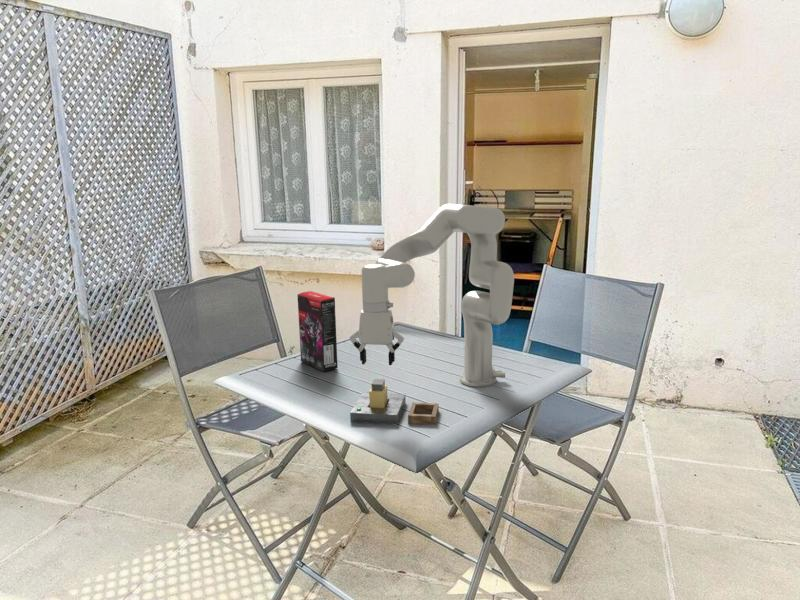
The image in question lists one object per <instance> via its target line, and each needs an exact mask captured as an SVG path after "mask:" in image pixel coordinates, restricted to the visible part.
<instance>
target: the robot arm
mask: <svg viewBox="0 0 800 600" xmlns="http://www.w3.org/2000/svg"><path fill="white" fill-rule="evenodd" d="M505 223H506V217H505V214H504V212H503V211H502V210H501V209H500V208H498V207H495V206H494V207H492V206H480V205H472V204H471V205H470V204H462V203H445V204H443V205H442V206H440V207H439V208H437V209H436V211H435V212H434V213H432V215H431V216H430V217H429V218H428V219H427V220H426V221H425V222H424V223H423V224H422V225H421V227H419V228H418V230H416V231H415V232H414V233H411V234H410V235H408V236H406V237H404V238H403V239H401V240H399V241H397V242H396V243H394V244H392V245H391V246H390V247H389V248H387V249H386V250H385V251H384V252H383V253H382V254H381V255H380V256H379V258H377V260H376V261H375V263H370V264H366V265H364V266H363V267H362V268H361V291H362V292H361V293H362V309H361V311H360V314H359V316H360V317H359V325H358V330H357V331H356V332H354V333H353V334H352V335H350V336H349V341H350V342H351V343H352V344H353V346H354V347H355V348H356V349H357V350H358V352H359V359H360V360H359V361H360V362H361V364H362V365H365V364H366V363H367V349H366V348H365V347H366V345H381V346H382V345H383V346H386V347H387V348H388V351H389V352H388V365H389V366H392V365H393V363H394V362H395V359H396V358H395V351H396V350H398V348H399V347H400V346H401V345H402V344H403V342H404V341H405V337H404V336H403V335H401V334H400V333H399V332H397V331H396V330H395V325H394V324H395V323H394V317H393V313H392V312H393V311H392V310H391V309H390V308H394V302H390V300H389V289H391V288H392V289H393V288H395V289H397V288H407V287H408V286H410V285H411V284H412V283H413V282H414V280H415V278H416V277H415V276H416V275H415V274H416V272H415V269H414V268H413V267H412V265H410V264H409V263H408V262H409V261H411V260H413V259H416V258H420V257H425V256H428V255H431V254H434V253H435V252H437V251H438V250H439V249H440V247H442V245H444V244H445V242H446V241H447V240H448V239H449V238H450V237H451V236H452V235H453V234H454V233H456V232H457V233H466V234H467V236H468V238H469V240H470V246H471V247H470V259H469V268H468V270H469V271H468V279H469V282H470V283H471V284H472V285H473V286H475V287H477V288H482V289H487V290H489V292H486V291H481V290H470V291H468V292H467V293H465V295H464V296H463V297H462V299H461V300H462V301H461V303H460V304H461V305H460V307H461V314H462V317H463V329H464V330H463V332H464V333H463V335H464V337H463V338H464V339H463V343H464V345H463V349H464V350H463V351H464V355H463V357H464V358H463V361H464V363H463V366H464V367H463V371H464V372H463V373H462V374H460V376H459V381H460V383H462V384H464V385H466V386H470V387H478V388H479V387H480V388H483V387H489V386H492V385H494V384H495V383H497V378H503V379H505V378H506V372H505V371H503V370H501V369H499V370H497V369H494V366H493V336H494V335H493V327H492V325H497V326H498V325H502V324H505V322H506V321H507V320H508V319H509V318H510V315H511V310H512V303H513V296H514V294H513V293H514V286H515V285H514V284H515V274H514V270H513V268H512V266H511V265H509V263H506V262H503V261H498V259H497V258H498V257H497V252H498V243H497V242H498V241H497V238H496V235H497V234H499V233H500V232H501V231H502V230H503V229H504V226H505ZM357 337H358V340H359V341H358V340H357ZM395 339H396V340H397V342H396V343H393V341H394V340H395Z"/></svg>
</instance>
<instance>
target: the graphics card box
mask: <svg viewBox="0 0 800 600" xmlns="http://www.w3.org/2000/svg"><path fill="white" fill-rule="evenodd" d="M296 297H297V310H298V326H299V327H298V329H299V331H298V333H299V347H300V351H299V352H300V362H301V363H304V364H306V365H308V366H311V367H313V368H315V369H317V370H320V371H322V372H327V371H332V370H335V369H338V349H337V348H338V347H337V341H338V340H337V322H336V321H337V320H336V299H335V297H334V296H328V295H325V294H322V293H319V292H316V291H313V290H308V291H304V292H300V293H298V294H297V296H296Z"/></svg>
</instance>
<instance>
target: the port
mask: <svg viewBox="0 0 800 600" xmlns="http://www.w3.org/2000/svg"><path fill="white" fill-rule="evenodd" d="M387 396H388V404H387V406H386V408H370V401H369V392H365V391H364V392H363V391H362V392H361V394H360V396H359V397H358V399H357V401H356V402H355V404H354V405H353V407H352V409H351V411H350V412H349V417H350V418H349V419H350V420H349V421H350V423H355V424H356V423H358V424H360V423H361V424H362V423H363V424H379V425H398V423H399V421H400V418H401V416H402V413H403V410H404V409H405V405H406V403H407V402H406V399H407V398H406V393H392V392H391V393H389V392H387Z"/></svg>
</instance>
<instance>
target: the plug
mask: <svg viewBox="0 0 800 600" xmlns="http://www.w3.org/2000/svg"><path fill="white" fill-rule="evenodd" d="M385 383H386V381H385V379H384V378H383V379H382V378H374V379H373V381H372V383H371V384H370V385H371V387H370V389H369V392H368V393H369V401H370V408H386V406H387V404H388V396H387V393H388V384H385Z"/></svg>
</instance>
